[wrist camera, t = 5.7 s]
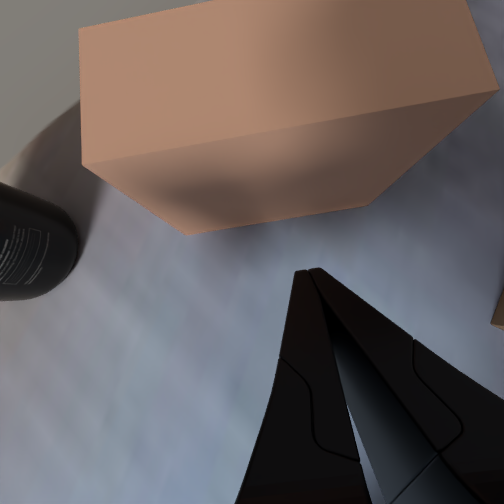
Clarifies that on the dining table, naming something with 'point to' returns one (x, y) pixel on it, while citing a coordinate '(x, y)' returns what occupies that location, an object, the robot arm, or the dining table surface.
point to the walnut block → (499, 314)
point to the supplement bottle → (33, 245)
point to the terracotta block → (274, 103)
